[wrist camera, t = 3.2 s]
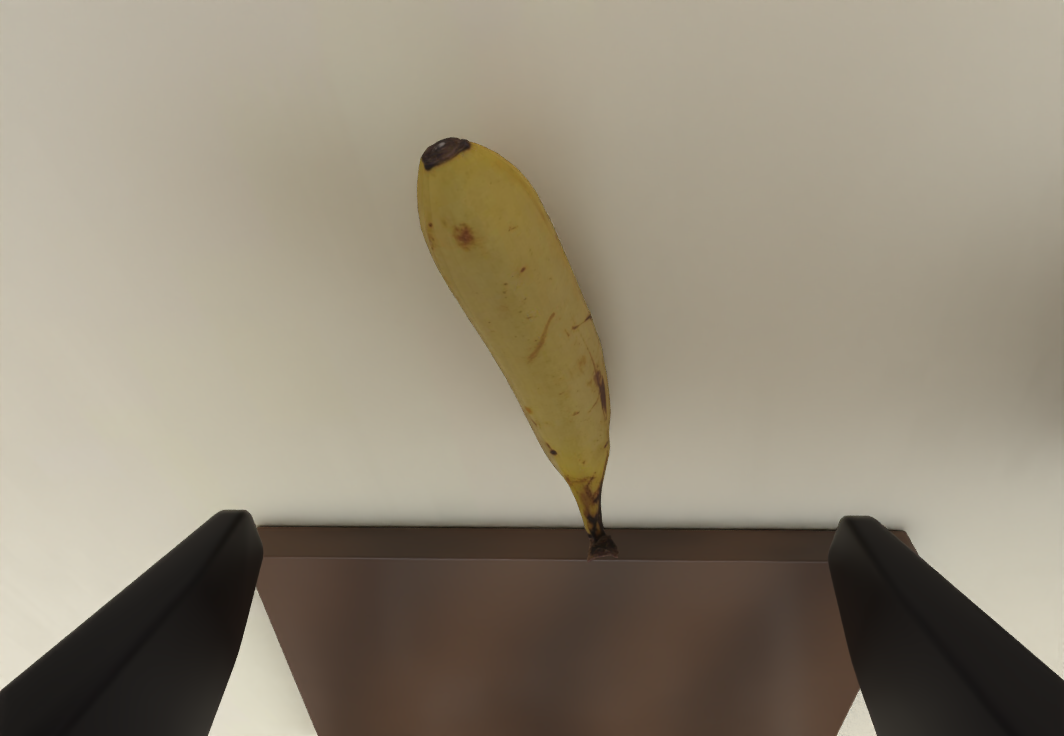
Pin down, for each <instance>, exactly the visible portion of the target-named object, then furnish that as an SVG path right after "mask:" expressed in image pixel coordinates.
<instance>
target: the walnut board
mask: <svg viewBox="0 0 1064 736" xmlns="http://www.w3.org/2000/svg"><path fill="white" fill-rule="evenodd" d="M257 531H258V533H259V536H260V539H261V541H262V544H263V560H262V564H261V568H260V572H259V576H258V580H257V584H256V588H257V590H258V593H259V595H260V598H261V600H262V602H263V605H264V607H265V610H266V612H267V615H268V617H269V619H270V622H271V624H272V627H273V629H274V631H275V634H276V636H277V639H278V641H279V643H280V646H281V648H282V651H283V653H284V655H285V658H286V660H287V663H288V665H289V667H290V670H291V672H292V675H293V677H294V680H295V682H296V684H297V687H298V689H299V692H300V694H301V696H302V699H303V701H304V704H305V706H306V708H307V711H308V713H309V716H310V718H311V720H312V723H313V725H314V728H315V730H316V732H317V735H318V736H837V734H838V732H839V730H840V728H841V725H842V723H843V721H844V719H845V717H846V715H847V713H848V711H849V709H850V707H851V705H852V703H853V701H854V699H855V697H856V695H857V693H858V691H859V689H860V686H859V683H858V680H857V677H856V674H855V671H854V668H853V665H852V661H851V658H850V654H849V650H848V646H847V642H846V638H845V633H844V629H843V625H842V621H841V616H840V612H839V608H838V604H837V599H836V595H835V591H834V587H833V582H832V578H831V574H830V570H829V564H828V553H829V549H830V546H831V543H832V541H833V538H834V535H835V532H836V531H814V530H670V529H604V531H605V533H606V535H611V538H612V540H613V541H614V543H615V544H616V545H617V547H618V549H617V550H618V551H619V554H618V558H615V557H613V556H604V557H599V558H595V559H594V560H592V561H591V562H589V563H587V557H588V552H589V547H590V540H589V538H588V534H587V531H586V529H527V528H384V527H257ZM890 532H891V533H893V534H894V535H895V536H896V537H897V538H898V539H900V540H901V541H902V542H903V543H904V544H905V545H907V546H908V547H909V548H910V549H911V550H912V551H914V552H915V553H916V554H917V555H918V553H917V551H916V549H915V547H914V546H913V544H912V542H911V540H910V538H909V537H908V535H907V533H906V532H905V531H890ZM918 556H919V555H918ZM919 557H920V556H919Z"/></svg>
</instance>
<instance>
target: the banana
mask: <svg viewBox="0 0 1064 736" xmlns="http://www.w3.org/2000/svg"><path fill="white" fill-rule="evenodd" d="M417 201H418V212H419V219H420V225H421V229H422V232H423V235H424V238H425V241H426V243H427V246H428V248H429V251H430V253H431V256H432V258H433V260H434V262H435V264H436V266H437V268H438V270H439V271H440V273H441V275H442V277H443V278H444V280H445V282H446V284H447V285H448V287H449V289H450V290H451V292H452V293H453V295H454V296H455V298H456V299H457V301H458V302H459V304H460V306H461V307H462V309H463V311H464V312H465V314H466V315H467V317H468V319H469V320H470V322H471V323H472V325H473V326H474V327H475V329H476V331H477V332H478V334H479V335H480V337H481V338H482V340H483V341H484V343H485V344H486V346H487V348H488V349H489V351H490V352H491V354H492V356H493V357H494V359H495V361H496V362H497V364H498V366H499V367H500V369H501V371H502V372H503V374H504V376H505V377H506V379H507V381H508V383H509V385H510V387H511V389H512V390H513V392H514V394H515V396H516V398H517V400H518V402H519V404H520V406H521V408H522V410H523V412H524V414H525V416H526V418H527V420H528V422H529V424H530V426H531V428H532V430H533V431H534V433H535V435H536V437H537V440H538V441H539V443H540V445H541V447H542V449H543V450H544V452H545V454H546V455H547V457H548V458H549V460H550V461H551V463H552V464H553V465H554V467H555V468H556V469H557V470H558V472H559V473H560V474H561V475H562V476H563V477H564V479H565V480H566V482H567V483H568V485H569V486H570V488H571V491H572V493H573V495H574V497H575V499H576V501H577V504H578V507H579V510H580V513H581V516H582V519H583V522H584V526H585V529H586V531H587V534H588V538H589V540H590V547H589V552H588V557H587V563H589V562H591V561H592V560H594V559H595V558H599V557H604V556H613V557H615V558H618V554H619V551H618V550H617V549H618V547H617V545H616V544H615V543H614V541H613V540H612V538H611V535H606V533H605V531H604V527H603V523H602V513H601V491H602V484H603V479H604V475H605V470H606V465H607V461H608V457H609V450H610V442H609V423H610V414H611V412H610V398H609V389H608V381H607V373H606V369H605V364H604V359H603V352H602V347H601V343H600V340H599V337H598V335H597V332H596V329H595V326H594V323H593V320H592V317H591V315H590V312H589V309H588V307H587V305H586V303H585V300H584V298H583V295H582V293H581V290H580V287H579V285H578V283H577V280H576V278H575V276H574V273H573V271H572V269H571V267H570V264H569V262H568V259H567V257H566V255H565V253H564V251H563V248H562V246H561V244H560V241H559V239H558V236H557V234H556V232H555V229H554V227H553V225H552V223H551V221H550V219H549V217H548V215H547V213H546V211H545V209H544V207H543V205H542V203H541V201H540V199H539V197H538V194H537V193H536V191H535V190H534V188H533V187H532V186H531V184H530V183H529V181H528V180H527V179H526V178H525V177H524V175H523V174H522V173H521V172H520V171H519V170H518V169H517V168H516V167H515V166H513V165H512V164H511V163H510V162H508V161H507V160H506V159H504V158H503V157H502V156H500V155H499V154H498V153H496V152H494V151H492V150H490V149H488V148H486V147H483V146H481V145H479V144H477V143H473V142H469V141H468V140H465V139H461V140H460V139H458V138H451V137H450V138H446V139H443V140H440V141H438V142H436V143H435V144H433V145H431V146H429V147H428V148H427V149H426V151H425V152H424V153H423V155H422V157H421V159H420V164H419V171H418V180H417Z"/></svg>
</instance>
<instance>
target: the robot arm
mask: <svg viewBox="0 0 1064 736" xmlns="http://www.w3.org/2000/svg"><path fill="white" fill-rule="evenodd" d="M262 560H263V544H262V541H261V539H260V536H259V533H258V531H257V528H256V526H255V523H254V520H253V518H252V516H251V514H250V513H249V512H248V511H246V510H222V511H220V512H218V513H216V514H215V515H214V516H212V517H211V518H210V519H209V520H208V521H206V522H205V523H204V524H203V525H201V526H200V527H199V528H198V529H197V530H195V531H194V532H193V533H192V534H191V535H189V536H188V537H187V538H186V539H184V540H183V541H182V542H181V543H180V544H178V545H177V546H176V547H175V548H173V549H172V550H171V551H170V552H169V553H167V554H166V555H165V556H164V557H163V558H161V559H160V560H159V561H158V562H156V563H155V564H154V565H153V566H152V567H150V568H149V569H148V570H147V571H145V572H144V573H143V574H142V575H141V576H139V577H138V578H137V579H136V580H135V581H133V582H132V583H131V584H130V585H128V586H127V587H126V588H125V589H124V590H122V591H121V592H120V593H119V594H118V595H116V596H115V597H114V598H113V599H111V600H110V601H109V602H108V603H107V604H105V605H104V606H103V607H102V608H100V609H99V610H98V611H97V612H96V613H94V614H93V615H92V616H91V617H90V618H88V619H87V620H86V621H85V622H83V623H82V624H81V625H80V626H79V627H77V628H76V629H75V630H74V631H72V632H71V633H70V634H69V635H68V636H66V637H65V638H64V639H63V640H62V641H60V642H59V643H58V644H57V645H55V646H54V647H53V648H52V649H51V650H49V651H48V652H47V653H46V654H45V655H43V656H42V657H41V658H40V659H38V660H37V661H36V662H35V663H34V664H32V665H31V666H30V667H29V668H27V669H26V670H25V671H24V672H23V673H21V674H20V675H19V676H18V677H17V678H15V679H14V680H13V681H12V682H10V683H9V684H8V685H7V686H6V687H4V688H3V689H2V690H1V691H0V736H208V734H209V731H210V728H211V726H212V723H213V720H214V718H215V715H216V712H217V710H218V707H219V704H220V702H221V699H222V696H223V694H224V691H225V688H226V686H227V683H228V680H229V678H230V675H231V672H232V670H233V667H234V664H235V661H236V658H237V655H238V652H239V649H240V645H241V642H242V638H243V634H244V631H245V627H246V623H247V619H248V615H249V611H250V607H251V603H252V599H253V595H254V591H255V588H256V584H257V580H258V576H259V572H260V568H261V564H262ZM828 564H829V570H830V574H831V578H832V582H833V587H834V591H835V595H836V599H837V604H838V608H839V612H840V616H841V621H842V625H843V629H844V633H845V638H846V642H847V646H848V650H849V654H850V658H851V661H852V665H853V668H854V671H855V674H856V677H857V680H858V683H859V686H860V689H861V691H862V694H863V697H864V700H865V703H866V706H867V708H868V711H869V714H870V717H871V720H872V722H873V725H874V728H875V731H876V734H877V736H1064V680H1063V679H1062V678H1060V677H1059V676H1058V675H1057V674H1056V673H1055V672H1053V671H1052V670H1051V669H1050V668H1049V667H1048V666H1047V665H1045V664H1044V663H1043V662H1042V661H1041V660H1040V659H1038V658H1037V657H1036V656H1035V655H1034V654H1033V653H1031V652H1030V651H1029V650H1028V649H1027V648H1026V647H1024V646H1023V645H1022V644H1021V643H1020V642H1019V641H1017V640H1016V639H1015V638H1014V637H1013V636H1012V635H1010V634H1009V633H1008V632H1007V631H1006V630H1005V629H1003V628H1002V627H1001V626H1000V625H999V624H998V623H996V622H995V621H994V620H993V619H992V618H991V617H989V616H988V615H987V614H986V613H985V612H984V611H982V610H981V609H980V608H979V607H978V606H977V605H975V604H974V603H973V602H972V601H971V600H970V599H968V598H967V597H966V596H965V595H964V594H963V593H961V592H960V591H959V590H958V589H957V588H956V587H954V586H953V585H952V584H951V583H950V582H949V581H947V580H946V579H945V578H944V577H943V576H942V575H940V574H939V573H938V572H937V571H936V570H935V569H933V568H932V567H931V566H930V565H929V564H928V563H926V562H925V561H924V560H923V559H922V558H921V557H919V556H918V555H917V554H916V553H915V552H914V551H912V550H911V549H910V548H909V547H908V546H907V545H905V544H904V543H903V542H902V541H901V540H900V539H898V538H897V537H896V536H895V535H894V534H893V533H891V532H890V531H889V530H888V529H887V528H886V527H884V526H883V525H882V524H881V523H880V522H879V521H877V520H876V519H874V518H873V517H870V516H844V517H843V518H842V519H841V520H840V522H839V524H838V527H837V530H836V532H835V535H834V538H833V541H832V543H831V546H830V549H829V553H828Z"/></svg>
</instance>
